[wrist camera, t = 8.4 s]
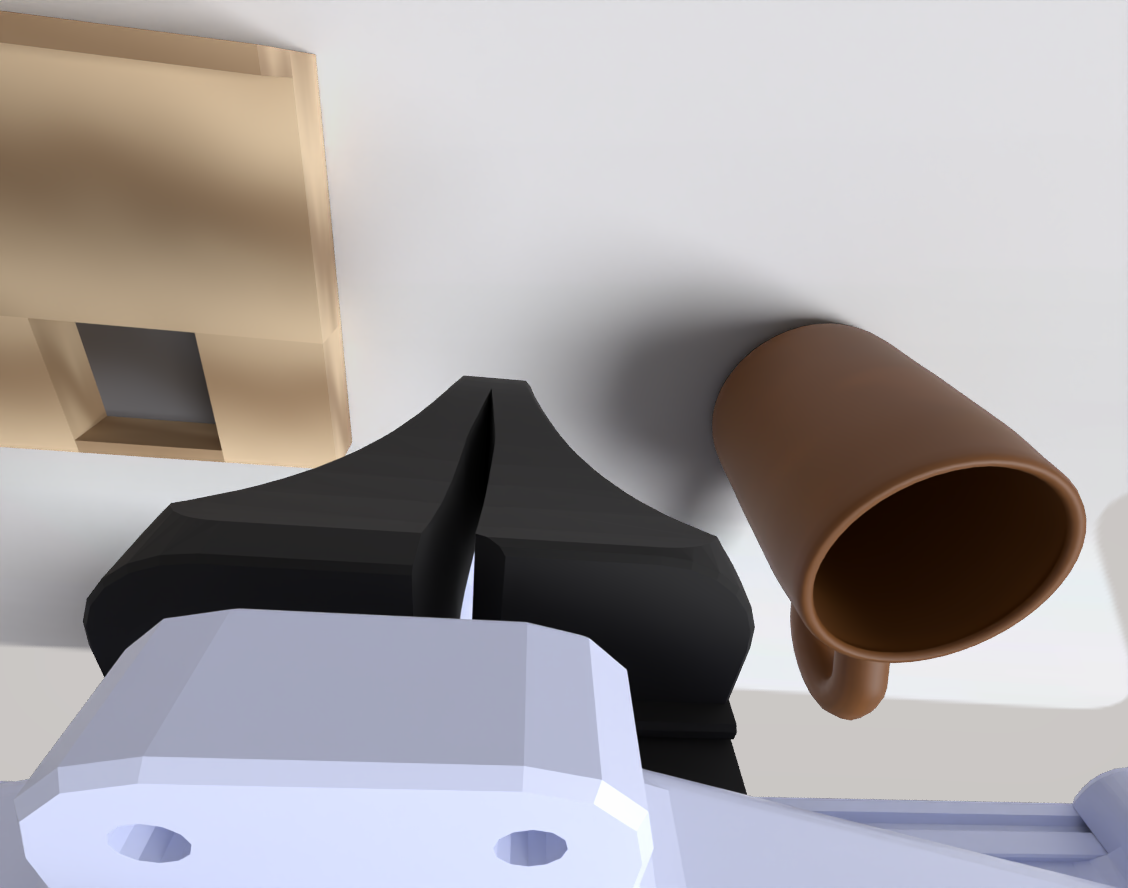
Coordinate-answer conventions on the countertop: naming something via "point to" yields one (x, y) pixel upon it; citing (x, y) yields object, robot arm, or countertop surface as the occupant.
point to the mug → (887, 507)
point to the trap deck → (165, 248)
